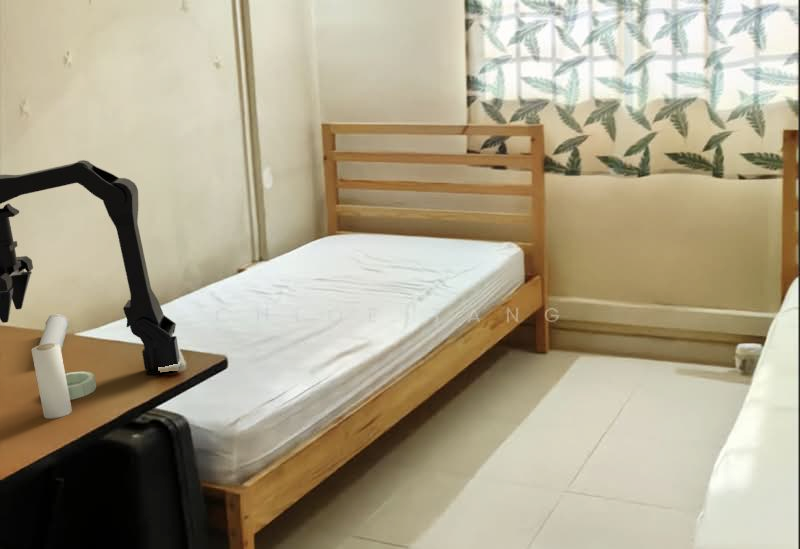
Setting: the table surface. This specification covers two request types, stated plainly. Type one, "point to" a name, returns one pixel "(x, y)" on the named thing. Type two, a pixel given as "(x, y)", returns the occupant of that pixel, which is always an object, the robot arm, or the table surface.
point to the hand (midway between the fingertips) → (12, 315)
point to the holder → (80, 384)
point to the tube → (55, 330)
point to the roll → (51, 380)
